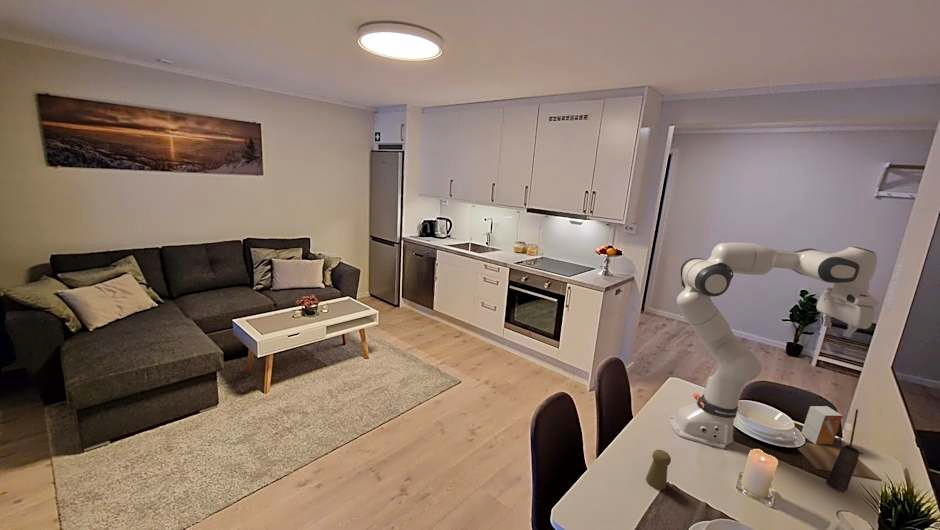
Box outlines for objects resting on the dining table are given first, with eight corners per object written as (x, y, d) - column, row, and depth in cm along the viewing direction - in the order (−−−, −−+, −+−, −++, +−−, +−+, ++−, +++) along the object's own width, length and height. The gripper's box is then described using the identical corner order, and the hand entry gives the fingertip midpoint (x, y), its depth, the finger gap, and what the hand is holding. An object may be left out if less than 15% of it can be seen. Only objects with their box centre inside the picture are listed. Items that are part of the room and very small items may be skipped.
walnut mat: (816, 469, 140) (817, 468, 140) (790, 441, 155) (790, 440, 155) (880, 480, 137) (881, 479, 137) (847, 450, 152) (847, 449, 152)
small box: (815, 445, 154) (825, 415, 151) (800, 434, 160) (809, 405, 157) (833, 444, 155) (843, 415, 152) (817, 433, 161) (827, 405, 158)
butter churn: (867, 499, 128) (896, 423, 122) (843, 500, 127) (871, 424, 120) (838, 477, 137) (863, 405, 130) (815, 478, 136) (839, 406, 129)
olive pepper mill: (667, 492, 124) (674, 462, 121) (646, 485, 126) (653, 456, 123) (665, 479, 130) (672, 450, 127) (645, 472, 131) (651, 444, 129)
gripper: (817, 285, 148) (806, 319, 151) (861, 301, 128) (848, 341, 131) (836, 287, 147) (824, 322, 150) (883, 304, 127) (869, 344, 130)
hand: (836, 331), depth 140 cm, fingers open, 8 cm apart
